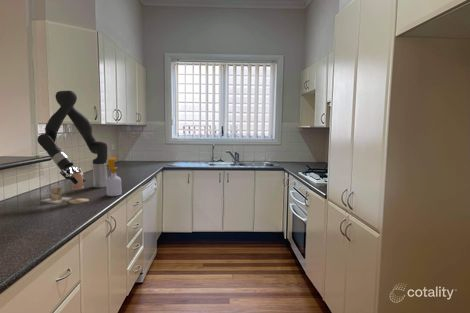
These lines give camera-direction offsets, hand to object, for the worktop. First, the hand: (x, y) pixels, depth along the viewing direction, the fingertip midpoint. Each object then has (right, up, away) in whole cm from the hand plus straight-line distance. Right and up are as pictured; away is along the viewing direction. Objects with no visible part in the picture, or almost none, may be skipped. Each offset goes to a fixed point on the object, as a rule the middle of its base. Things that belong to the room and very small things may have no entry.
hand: (80, 182), depth 179 cm
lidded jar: (-2, -4, +1) cm, 4 cm away
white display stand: (-16, -11, +3) cm, 20 cm away
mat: (-2, -12, +2) cm, 12 cm away
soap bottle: (+12, -10, +20) cm, 25 cm away
